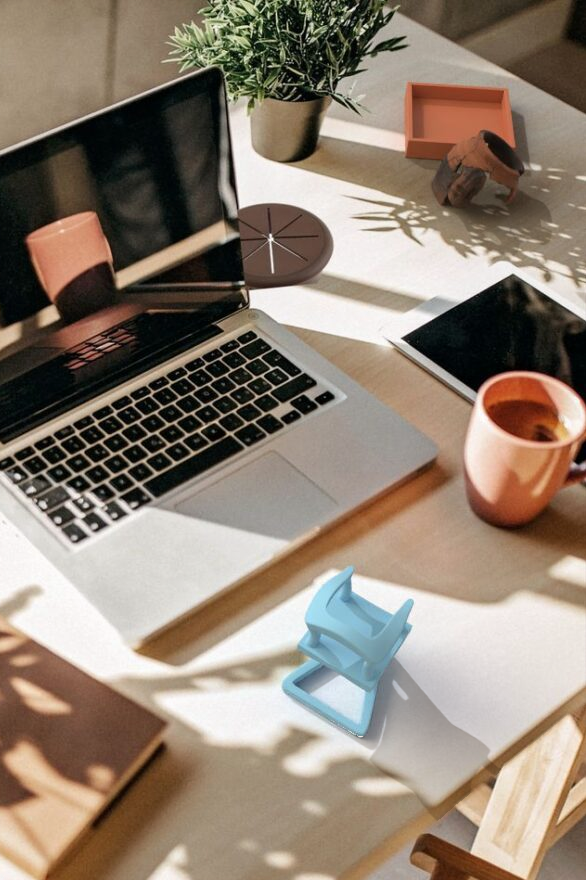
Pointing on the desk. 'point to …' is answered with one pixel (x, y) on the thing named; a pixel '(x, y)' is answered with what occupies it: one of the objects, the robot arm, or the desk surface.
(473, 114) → the terracotta tray
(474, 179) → the broken clay pot
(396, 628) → the chair
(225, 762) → the desk surface
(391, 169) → the desk surface
